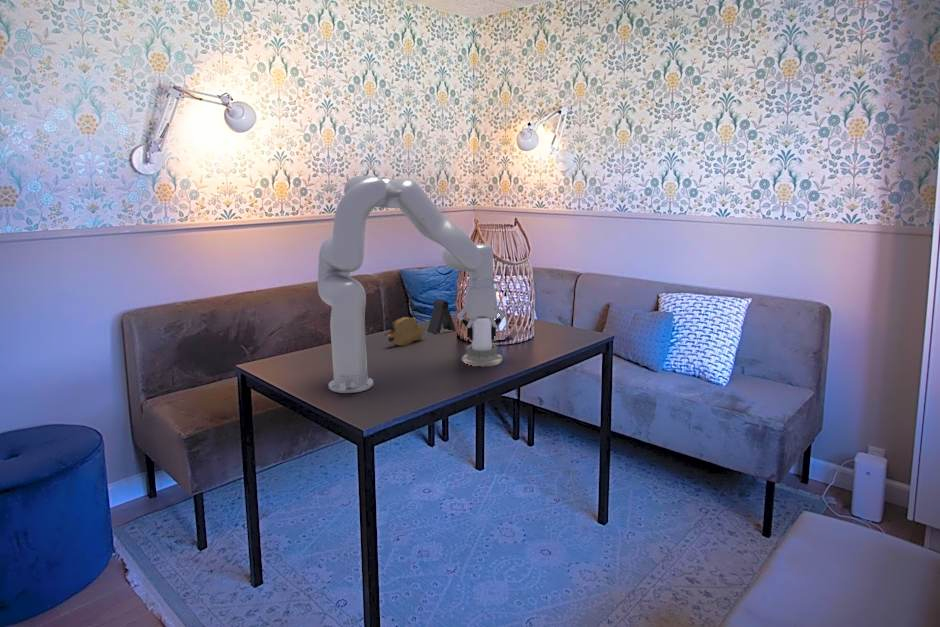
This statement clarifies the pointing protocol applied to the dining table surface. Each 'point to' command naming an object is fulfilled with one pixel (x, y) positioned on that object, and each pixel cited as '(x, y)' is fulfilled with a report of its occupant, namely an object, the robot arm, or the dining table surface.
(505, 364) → the dining table surface
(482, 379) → the dining table surface
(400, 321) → the wooden carving
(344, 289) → the robot arm
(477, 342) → the can
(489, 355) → the cup holder
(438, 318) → the phone stand
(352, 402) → the dining table surface
